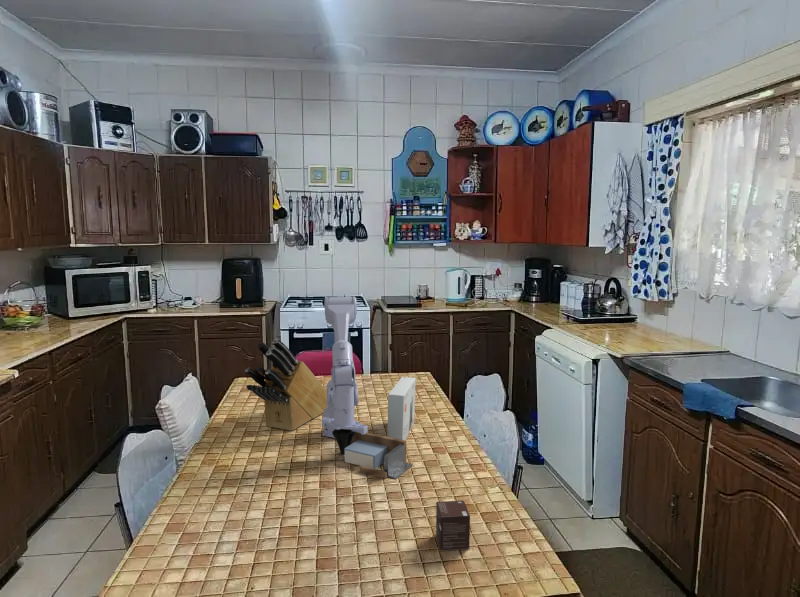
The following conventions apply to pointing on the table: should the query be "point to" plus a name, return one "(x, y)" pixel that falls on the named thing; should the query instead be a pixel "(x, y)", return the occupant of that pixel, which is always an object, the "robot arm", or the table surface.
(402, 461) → the bookend
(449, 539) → the box
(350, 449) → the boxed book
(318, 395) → the knife block
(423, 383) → the table surface
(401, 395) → the skincare box
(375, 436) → the shelf
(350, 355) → the robot arm
